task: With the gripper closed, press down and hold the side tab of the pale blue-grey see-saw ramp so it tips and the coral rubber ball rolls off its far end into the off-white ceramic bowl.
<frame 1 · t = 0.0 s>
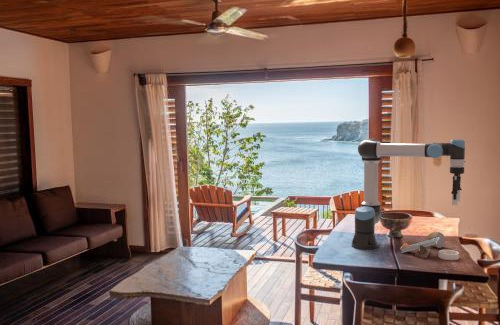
hand: (456, 203, 265), 28 cm above the table, fingers open, 13 cm apart
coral: (435, 247, 277), on the table
bowl: (448, 257, 255), on the table
lever: (419, 243, 265), point 5 cm above the table, hinge at -22.1°, touching ball
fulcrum: (422, 254, 261), on the table
ball: (405, 246, 266), point 3 cm above the table, tilted 6°, touching lever
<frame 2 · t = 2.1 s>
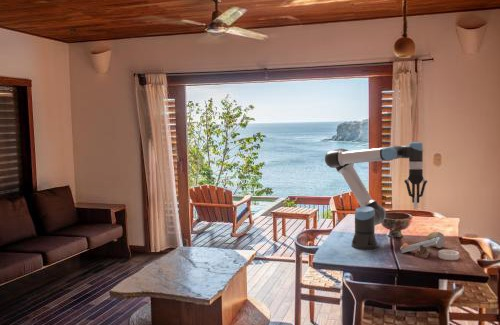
hand: (415, 208, 272), 24 cm above the table, fingers closed
nothing on the table moved.
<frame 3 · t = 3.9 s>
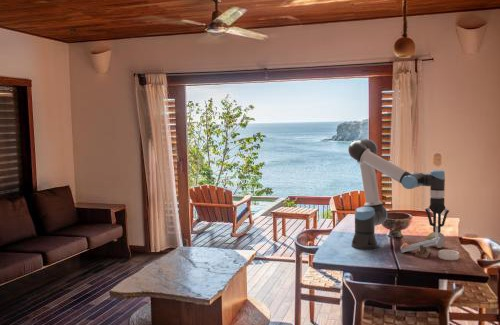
hand: (436, 237, 264), 8 cm above the table, fingers closed
lever: (419, 243, 265), point 5 cm above the table, hinge at -21.1°, touching ball, gripper
everything else where it was.
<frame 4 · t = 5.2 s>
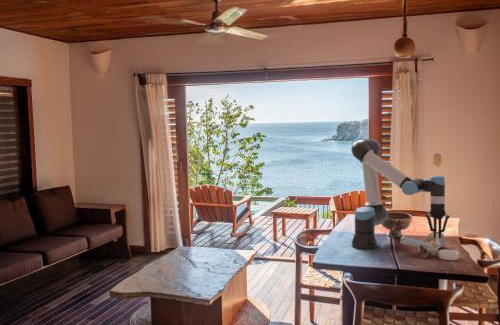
hand: (437, 243, 264), 5 cm above the table, fingers closed
lever: (420, 242, 264), point 6 cm above the table, hinge at 5.9°, touching ball, gripper
ball: (432, 244, 258), point 7 cm above the table, tilted 137°, touching lever
everything else where it was.
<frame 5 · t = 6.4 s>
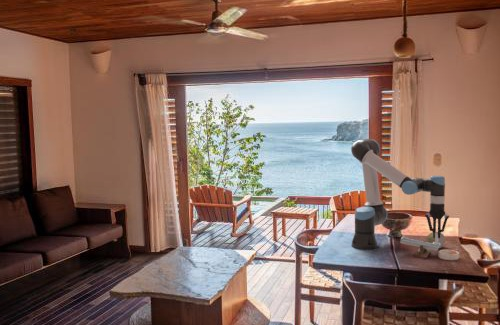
hand: (436, 243, 264), 5 cm above the table, fingers closed
lever: (420, 242, 264), point 6 cm above the table, hinge at 6.2°
ball: (452, 254, 254), point 2 cm above the table, tilted 140°, touching bowl
everything else where it was.
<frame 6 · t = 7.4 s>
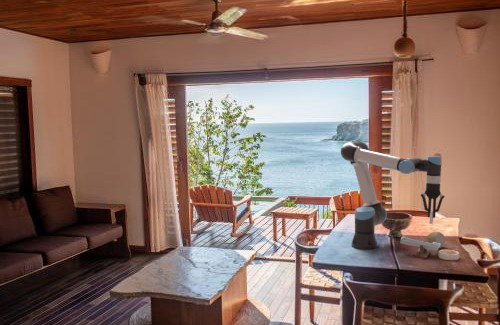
hand: (431, 223, 266), 17 cm above the table, fingers closed
ball: (451, 253, 254), point 2 cm above the table, tilted 119°, touching bowl
everything else where it was.
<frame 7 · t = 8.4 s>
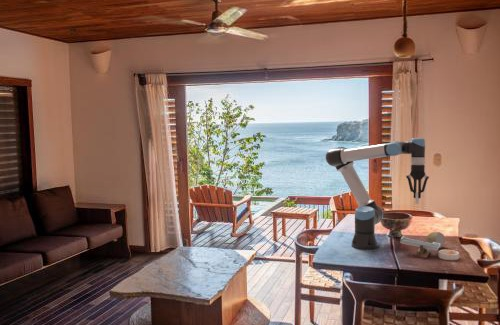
hand: (417, 203, 274), 26 cm above the table, fingers closed
ball: (450, 253, 254), point 2 cm above the table, tilted 98°, touching bowl
everything else where it was.
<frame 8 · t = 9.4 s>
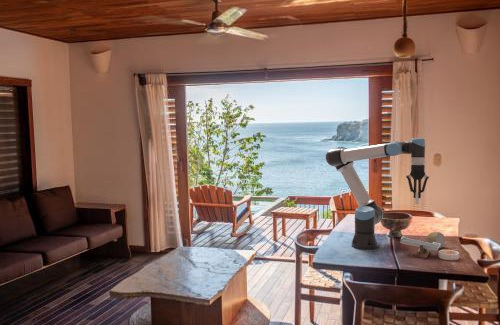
hand: (417, 203, 274), 26 cm above the table, fingers closed
ball: (448, 253, 254), point 2 cm above the table, tilted 77°, touching bowl
everything else where it was.
at the end: ball inside the target area on the bowl (0.1 cm from its centre), point 2.2 cm above the bowl's base; ball touching bowl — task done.
